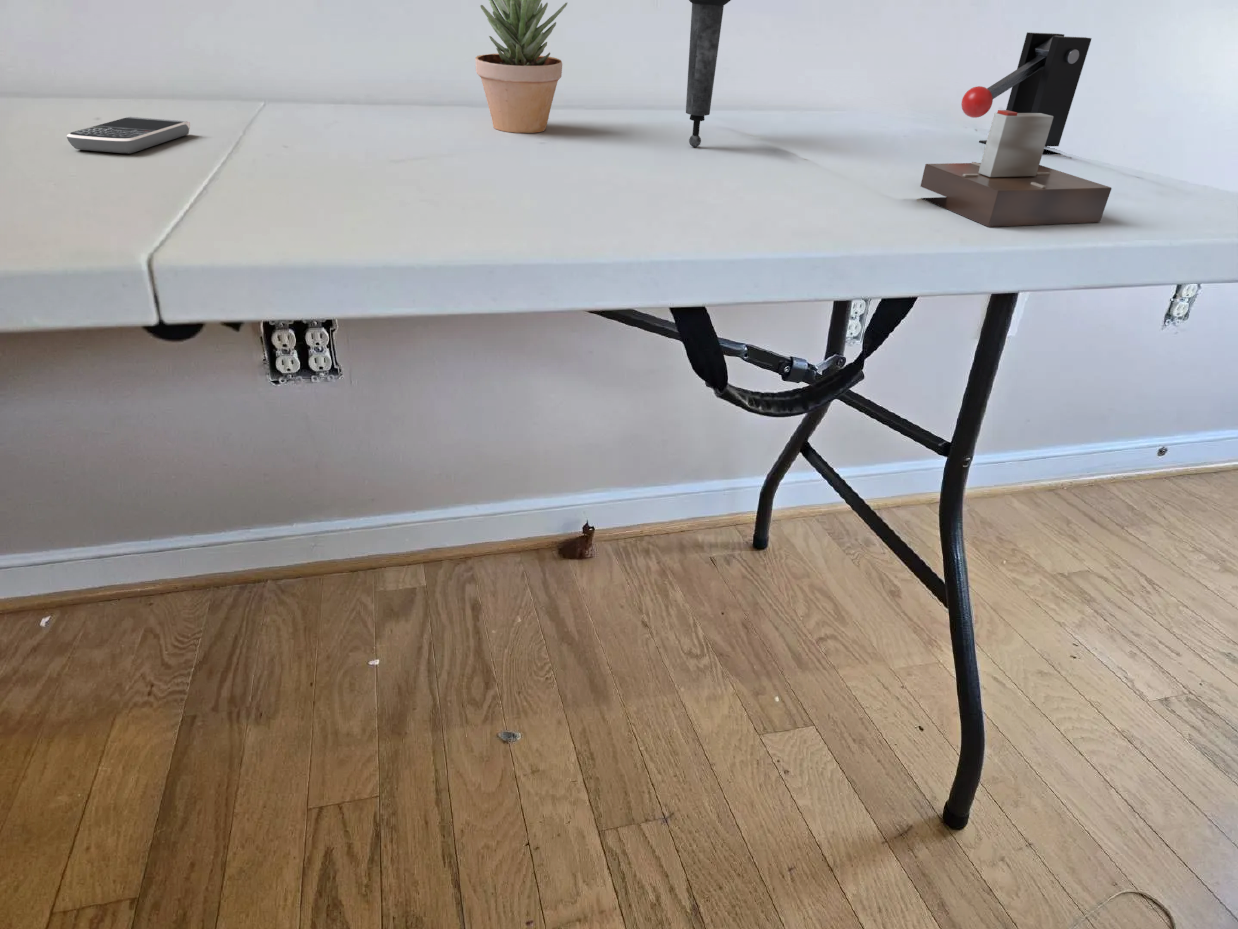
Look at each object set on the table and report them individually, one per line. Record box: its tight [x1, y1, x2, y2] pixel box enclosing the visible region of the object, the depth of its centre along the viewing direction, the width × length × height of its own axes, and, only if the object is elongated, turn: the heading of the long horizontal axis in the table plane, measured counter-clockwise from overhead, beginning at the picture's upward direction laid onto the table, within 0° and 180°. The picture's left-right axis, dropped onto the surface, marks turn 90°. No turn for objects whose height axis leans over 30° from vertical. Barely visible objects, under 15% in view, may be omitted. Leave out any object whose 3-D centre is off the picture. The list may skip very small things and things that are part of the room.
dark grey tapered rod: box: [685, 0, 732, 148], centre depth 89 cm, size 7×7×20 cm
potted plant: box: [475, 0, 568, 134], centre depth 91 cm, size 10×10×25 cm
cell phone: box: [66, 116, 191, 155], centre depth 80 cm, size 6×11×1 cm, turn 174°
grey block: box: [978, 109, 1053, 177], centre depth 74 cm, size 5×2×5 cm, turn 108°
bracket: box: [978, 32, 1092, 156], centre depth 96 cm, size 8×7×13 cm
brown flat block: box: [920, 161, 1113, 228], centre depth 76 cm, size 12×10×3 cm
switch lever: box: [961, 35, 1065, 119], centre depth 94 cm, size 13×3×3 cm, turn 109°
